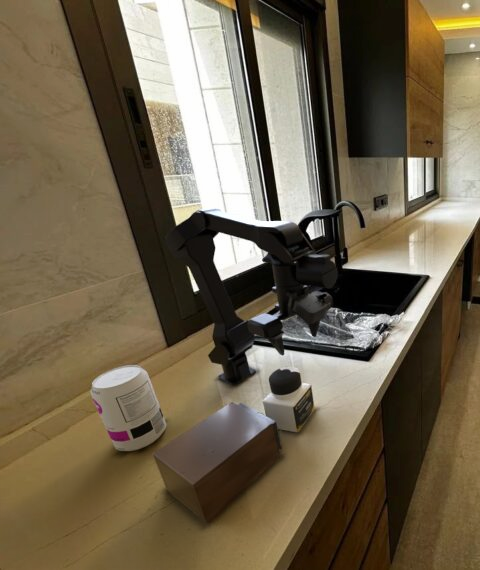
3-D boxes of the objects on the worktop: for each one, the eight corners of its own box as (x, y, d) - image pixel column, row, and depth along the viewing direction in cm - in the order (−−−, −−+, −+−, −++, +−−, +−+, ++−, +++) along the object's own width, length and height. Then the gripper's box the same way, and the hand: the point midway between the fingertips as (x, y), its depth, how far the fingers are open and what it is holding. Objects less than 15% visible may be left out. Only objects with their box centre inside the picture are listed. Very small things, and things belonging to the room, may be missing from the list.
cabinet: (240, 435, 67) (232, 401, 64) (279, 458, 62) (272, 423, 59) (166, 490, 56) (152, 453, 53) (206, 523, 51) (192, 484, 48)
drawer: (252, 424, 69) (246, 399, 66) (286, 444, 64) (281, 417, 62) (181, 477, 57) (171, 448, 55) (217, 505, 53) (207, 474, 50)
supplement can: (109, 460, 61) (79, 396, 56) (122, 429, 68) (97, 370, 63) (162, 444, 65) (139, 382, 59) (170, 416, 72) (149, 359, 66)
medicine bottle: (298, 433, 68) (289, 386, 63) (267, 427, 69) (257, 381, 65) (315, 409, 74) (308, 364, 70) (287, 404, 75) (279, 360, 71)
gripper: (277, 306, 59) (289, 378, 64) (348, 276, 74) (352, 336, 79) (239, 294, 64) (253, 361, 69) (312, 268, 79) (319, 325, 85)
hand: (298, 345), depth 76 cm, fingers open, 9 cm apart
